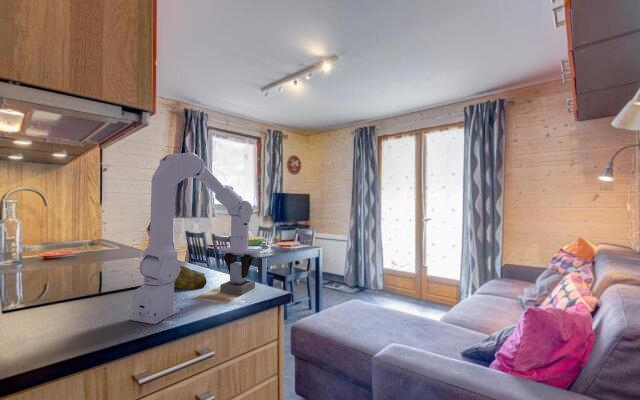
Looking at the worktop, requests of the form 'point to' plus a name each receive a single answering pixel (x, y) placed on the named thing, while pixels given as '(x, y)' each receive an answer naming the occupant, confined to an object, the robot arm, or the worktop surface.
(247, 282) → the frame
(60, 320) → the worktop surface
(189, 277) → the potato
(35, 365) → the worktop surface
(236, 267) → the plug
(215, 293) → the board
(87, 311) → the worktop surface
